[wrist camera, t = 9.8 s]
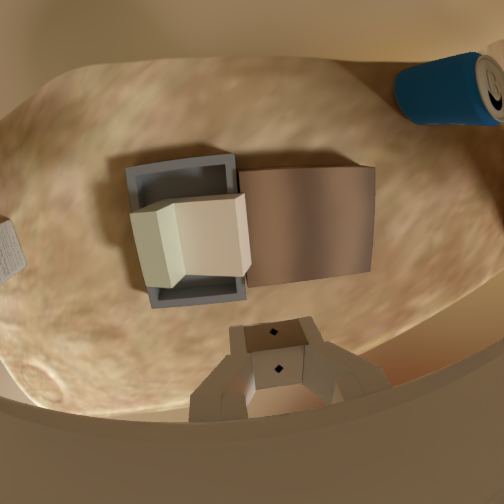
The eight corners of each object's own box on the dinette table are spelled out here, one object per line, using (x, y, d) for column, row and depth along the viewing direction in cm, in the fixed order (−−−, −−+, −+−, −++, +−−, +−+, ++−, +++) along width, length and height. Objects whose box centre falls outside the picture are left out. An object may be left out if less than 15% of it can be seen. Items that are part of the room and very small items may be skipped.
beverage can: (397, 126, 24) (483, 126, 13) (384, 68, 22) (464, 42, 11) (437, 124, 24) (518, 128, 13) (426, 71, 22) (504, 57, 11)
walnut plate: (359, 165, 25) (375, 167, 22) (357, 260, 29) (370, 271, 26) (236, 169, 24) (238, 172, 21) (244, 273, 28) (248, 287, 25)
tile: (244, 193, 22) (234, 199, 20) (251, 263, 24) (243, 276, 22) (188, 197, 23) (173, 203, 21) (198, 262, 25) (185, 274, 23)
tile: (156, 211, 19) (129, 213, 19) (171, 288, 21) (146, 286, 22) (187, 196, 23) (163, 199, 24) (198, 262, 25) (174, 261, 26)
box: (232, 153, 24) (234, 153, 21) (244, 287, 28) (246, 299, 26) (133, 166, 23) (125, 167, 21) (156, 296, 27) (151, 308, 25)
